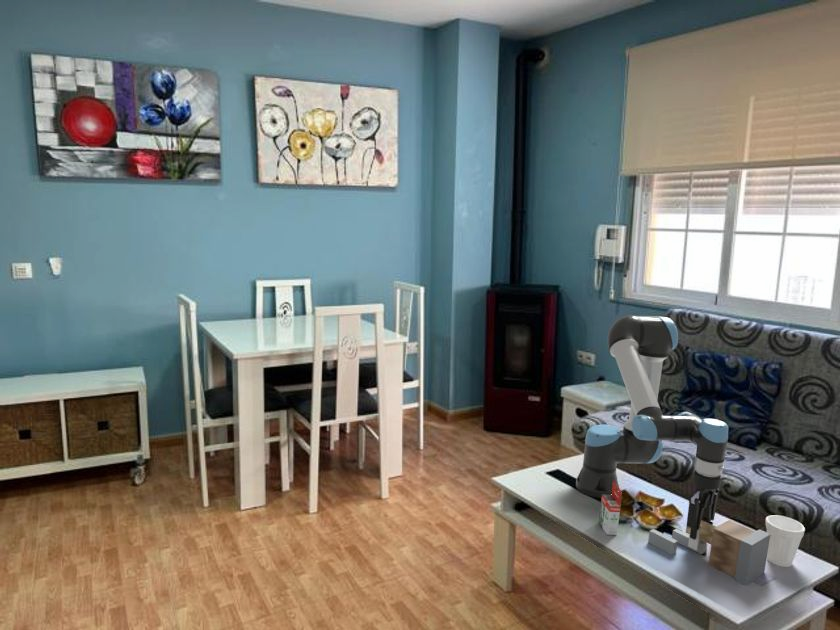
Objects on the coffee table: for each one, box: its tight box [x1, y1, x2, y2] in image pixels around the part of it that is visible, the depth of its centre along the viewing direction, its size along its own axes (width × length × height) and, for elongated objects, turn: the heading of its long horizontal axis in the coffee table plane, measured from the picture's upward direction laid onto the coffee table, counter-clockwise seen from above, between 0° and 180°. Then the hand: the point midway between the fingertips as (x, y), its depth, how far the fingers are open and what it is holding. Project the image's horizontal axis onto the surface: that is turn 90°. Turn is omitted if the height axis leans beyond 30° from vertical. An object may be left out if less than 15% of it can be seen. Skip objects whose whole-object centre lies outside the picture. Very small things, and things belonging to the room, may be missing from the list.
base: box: [671, 528, 771, 586], centre depth 178 cm, size 26×11×13 cm, turn 37°
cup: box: [765, 514, 806, 568], centre depth 178 cm, size 10×10×13 cm
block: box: [707, 519, 757, 579], centre depth 174 cm, size 8×9×11 cm
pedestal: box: [647, 528, 679, 556], centre depth 183 cm, size 8×2×5 cm, turn 37°
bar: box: [685, 520, 717, 545], centre depth 178 cm, size 14×4×4 cm, turn 37°
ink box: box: [598, 481, 623, 536], centre depth 193 cm, size 4×8×15 cm, turn 2°
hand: (697, 545), depth 182 cm, fingers closed on bar, 4 cm apart
